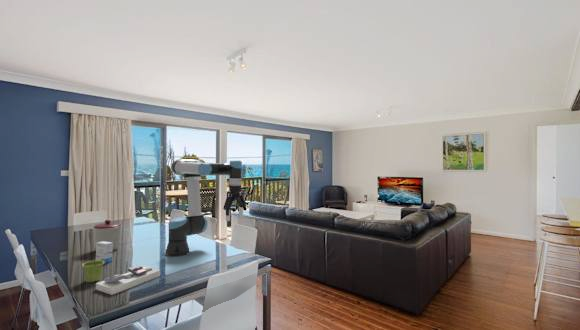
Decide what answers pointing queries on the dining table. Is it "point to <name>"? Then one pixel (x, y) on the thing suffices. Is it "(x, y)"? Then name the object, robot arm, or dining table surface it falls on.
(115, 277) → the slate rocker
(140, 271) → the charcoal rocker
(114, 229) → the canister
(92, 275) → the plant pot
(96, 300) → the dining table surface
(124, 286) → the power strip
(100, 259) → the ink box
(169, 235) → the robot arm
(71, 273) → the dining table surface
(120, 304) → the dining table surface
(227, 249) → the dining table surface
